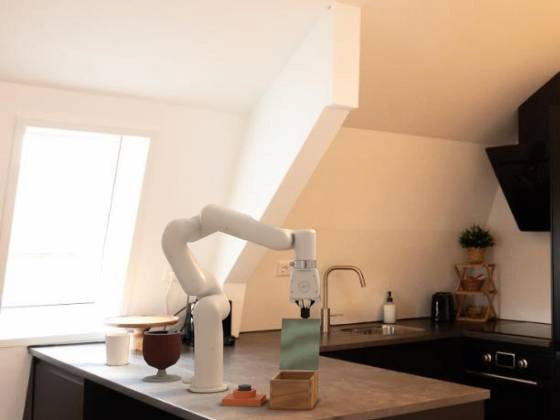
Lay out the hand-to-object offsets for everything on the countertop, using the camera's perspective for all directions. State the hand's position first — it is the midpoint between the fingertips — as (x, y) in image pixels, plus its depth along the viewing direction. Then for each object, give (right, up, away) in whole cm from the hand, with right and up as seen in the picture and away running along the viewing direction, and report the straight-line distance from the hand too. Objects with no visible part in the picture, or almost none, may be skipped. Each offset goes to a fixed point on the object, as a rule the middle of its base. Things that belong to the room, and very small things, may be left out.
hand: (305, 319), depth 258 cm
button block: (-17, -23, -19) cm, 35 cm away
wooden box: (-1, -23, -21) cm, 31 cm away
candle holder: (-83, -26, +55) cm, 103 cm away
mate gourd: (-54, -25, +22) cm, 64 cm away
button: (-17, -20, -19) cm, 32 cm away
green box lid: (-1, -6, -11) cm, 12 cm away
